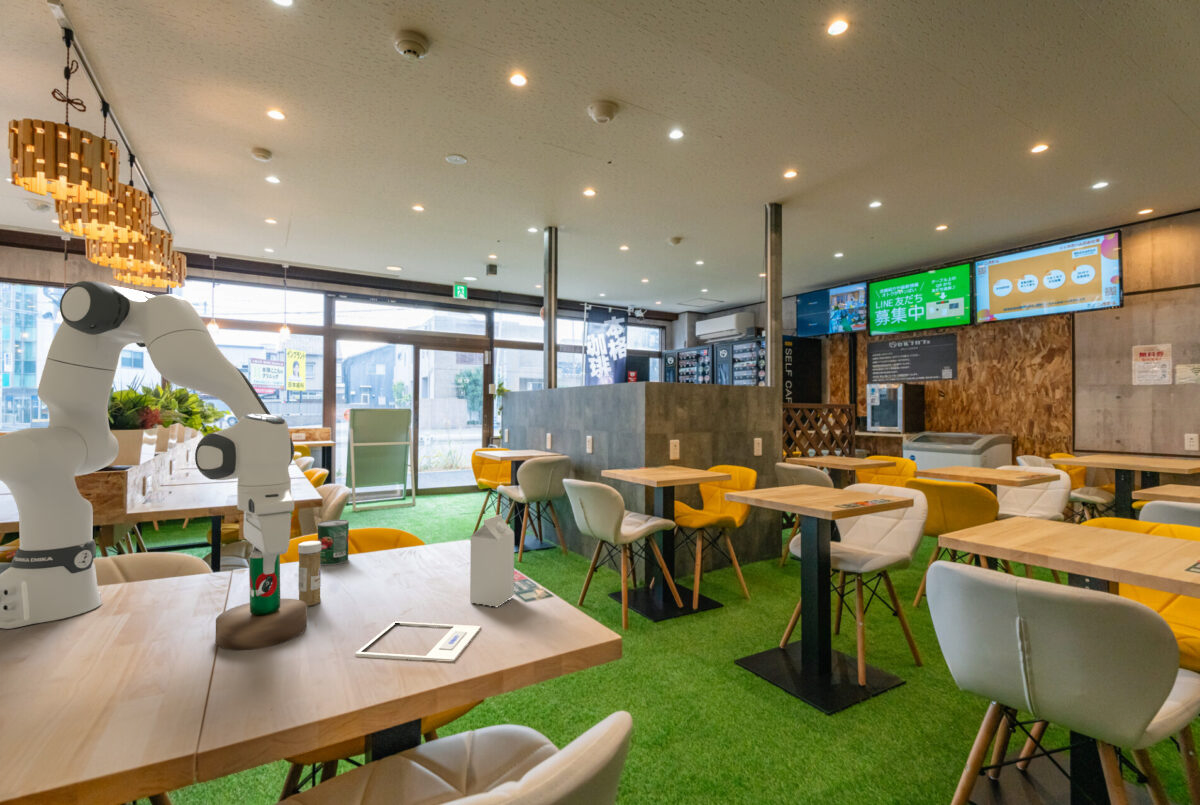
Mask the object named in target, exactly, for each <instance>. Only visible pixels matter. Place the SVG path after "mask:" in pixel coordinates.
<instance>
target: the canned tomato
mask: <svg viewBox="0 0 1200 805" xmlns="http://www.w3.org/2000/svg"><path fill="white" fill-rule="evenodd" d="M349 524H350V521H349V520H348V519H347V520H346V519H331V520H328V519H327V520H323V521H320V522H318V523H317V541H320V542H321V552H320V566H323V565H330V566H336V565H335V564H338V565H340V564H339V563H342V564H344V562H345V563H347V562H348V561H349V538H350V537H349V529H350V526H349ZM346 561H347V562H346Z"/></svg>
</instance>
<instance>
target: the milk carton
mask: <svg viewBox="0 0 1200 805" xmlns="http://www.w3.org/2000/svg"><path fill="white" fill-rule="evenodd" d="M502 514H503V513H499V514H497V515H494V516H491V517H489V518H486V519H483V525H482V526H481V527H479V528H478V529H477V530H476V531H474V533H473V534H471V535H470V570H469V571H470V573H469V574H470V576H469V577H470V578H469V579H470V581H469V583H470V584H469V588H470V589H469V590H470V591H469V592H470V594H469V602H470V604H473V603H476V604H475V605H479V604H483V605H482V606H485V605H491V606H499V605H500V604H502V603H503V602H505V601H506V600H508V599H509V598H511V597H512V596H513V595H514V596H515V532H514V530H513V529H512V528H511V527H510V526H509V525H508V524H507V523H506V522H505V521H504V519H503V518H502V516H503V515H502ZM502 605H503V604H502ZM491 606H490V607H491ZM499 607H500V606H499Z"/></svg>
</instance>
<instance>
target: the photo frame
mask: <svg viewBox="0 0 1200 805" xmlns="http://www.w3.org/2000/svg"><path fill="white" fill-rule="evenodd" d="M395 623H401V624H400V626H401V625H410V626H409V627H418V626H435V627H434V628H437V627H453V628H450V630H449V631H448V632H447V633H446V634H445V635H444V636H443V637H442V638H441V639H440V640H439V641H438V642H437V643H436V644H435V645H434V646H433V648H432V649H431V650H430V651H429V652H428V653H427V654H426V655H416V654H399V653H385V652H384V653H382V652H366V651H363V650H365V649H366V648H368V647H369V645H371V644H372V643H373V642H375V641H376V640H377V639H379V638H380V637H381V636H382V635H384V633H386V632H387V631H388V630H389V629H391V628H392V627H394V625H396V624H395ZM412 625H413V626H412ZM436 626H437V627H436ZM480 628H481V629H482V626H481V625H469V624H468V625H466V624H465V625H464V624H450V623H449V624H448V623H447V624H446V623H433V622H432V623H431V622H412V621H394V622H391V624H389V625H388V626H387V627H386V628H385V629H383V630H382V631H381V632H380V633H378V634H377V635H376V636H374V637H373V638H372V639H371V640H369V642H367V643H366V644H364V646H362V647H361V648H360V649H358V650H357V651H356V652H355V653H354V657H356V658H357V657H358V658H375V659H390V660H392V659H393V660H406V659H408V660H409V661H410V659H411V661H422V660H453V661H454V660H455V659H456V657H457V656H458V655H459V654H460V653H461V651H462V650H463V649H464V648H465V647H466V645H467V644H468V643H469V642H470V641H471V642H472V640H473V639H474V638H475V637H476V635H477V634H478V633H479V632H478V630H479V629H480ZM481 629H480V630H481ZM480 630H479V631H480ZM477 632H478V633H477ZM476 633H477V634H476ZM475 634H476V635H475ZM474 636H475V637H474ZM473 637H474V638H473ZM472 638H473V639H472ZM471 639H472V640H471ZM471 642H470V643H471ZM470 643H469V644H470ZM469 644H468V645H469ZM468 645H467V646H468ZM466 648H467V647H466ZM466 648H465V649H466ZM465 649H464V650H465ZM464 650H463V651H464ZM461 654H462V653H461ZM461 654H460V655H461ZM460 655H459V656H460ZM456 660H457V659H456ZM456 660H455V661H456Z"/></svg>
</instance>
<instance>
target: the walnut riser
mask: <svg viewBox="0 0 1200 805" xmlns="http://www.w3.org/2000/svg"><path fill="white" fill-rule="evenodd" d="M280 605H281V606H280V608H279V610H278V611H276V612H275V613H272V614H269V615H264V616H254V615H252V614H251V613H250V602H248V603H244V604H240V605H236V606H233V607H231V608H229V609H227V610H225V611H223V612H221V613H220V614H218V615H217V616H216V618H215V645H216V646H217V647H219V648H221V649H225V650H230V651H245V650H255V649H262V648H266V647H271V646H274V645H280V644H282V643H285V642H287V641H290V640H292V639H295V638H296V637H298V636H300V635H301V634H302V633H304V631H306V629H307V627H308V626H307V624H308V623H307V622H308V615H307V613H308V606H307V604H306V603H305V602H303V601H301V600H299V599H298V598H297V599H296V598H280Z"/></svg>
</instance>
